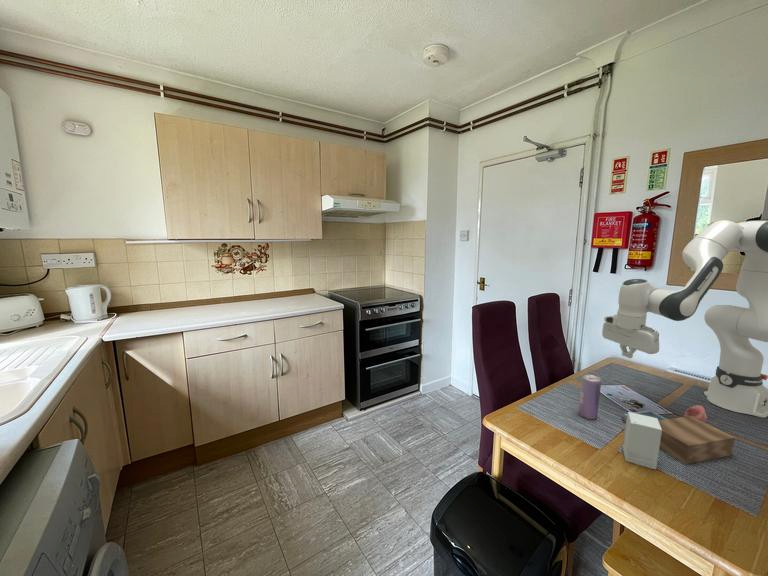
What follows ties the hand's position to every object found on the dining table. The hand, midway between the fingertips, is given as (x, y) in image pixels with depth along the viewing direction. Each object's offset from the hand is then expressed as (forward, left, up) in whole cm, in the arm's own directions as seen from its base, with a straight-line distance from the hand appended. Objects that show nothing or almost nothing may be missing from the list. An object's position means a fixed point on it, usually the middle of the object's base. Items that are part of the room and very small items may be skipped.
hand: (627, 356), depth 124 cm
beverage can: (+19, +3, -21) cm, 28 cm away
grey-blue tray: (+3, +18, -20) cm, 27 cm away
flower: (-15, +15, -21) cm, 30 cm away
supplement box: (+23, +26, -21) cm, 40 cm away
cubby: (+3, +25, -20) cm, 32 cm away
